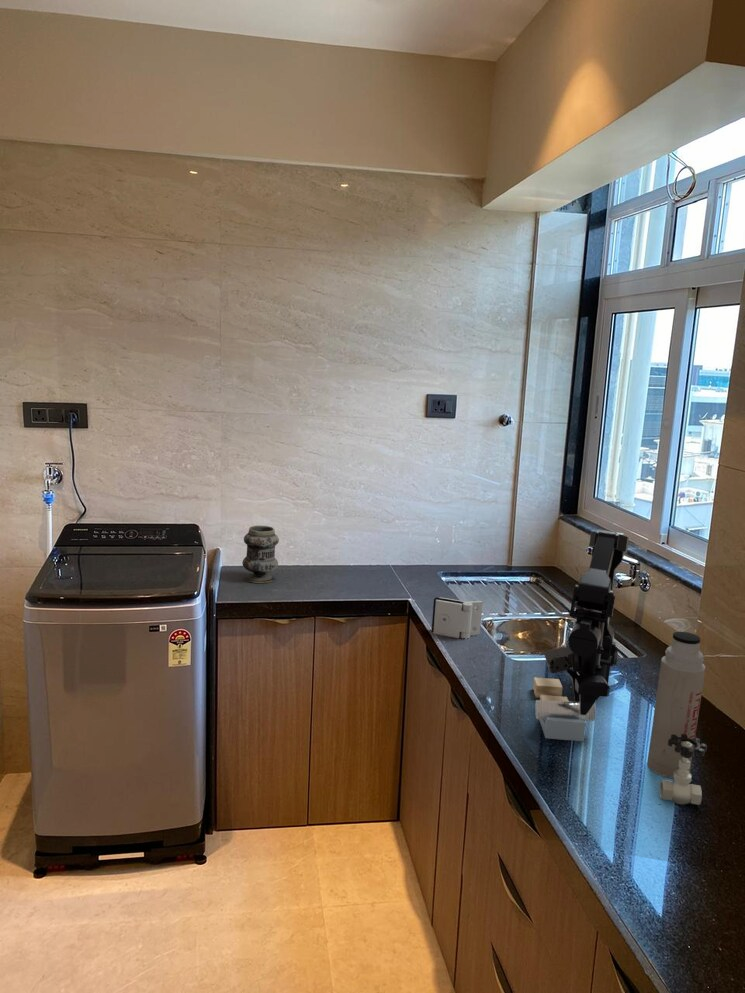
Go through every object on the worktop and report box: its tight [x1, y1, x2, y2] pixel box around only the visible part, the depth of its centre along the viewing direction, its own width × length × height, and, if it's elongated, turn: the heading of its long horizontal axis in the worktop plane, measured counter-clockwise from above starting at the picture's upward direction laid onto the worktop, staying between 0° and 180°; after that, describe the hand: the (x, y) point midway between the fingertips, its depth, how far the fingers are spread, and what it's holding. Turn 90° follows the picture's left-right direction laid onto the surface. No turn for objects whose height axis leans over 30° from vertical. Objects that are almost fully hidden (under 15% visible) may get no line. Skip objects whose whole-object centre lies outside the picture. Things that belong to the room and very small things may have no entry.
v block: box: [538, 717, 587, 742], centre depth 161 cm, size 8×8×4 cm
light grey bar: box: [534, 699, 596, 722], centre depth 161 cm, size 12×4×4 cm, turn 87°
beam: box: [532, 676, 569, 701], centre depth 174 cm, size 6×14×3 cm, turn 177°
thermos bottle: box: [646, 631, 706, 779], centre depth 146 cm, size 8×8×28 cm
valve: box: [659, 734, 708, 806], centre depth 136 cm, size 7×7×12 cm
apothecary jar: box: [241, 525, 280, 584], centre depth 253 cm, size 12×12×18 cm
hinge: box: [431, 596, 484, 640], centre depth 213 cm, size 14×5×10 cm, turn 83°
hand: (580, 708), depth 160 cm, fingers open, 6 cm apart
